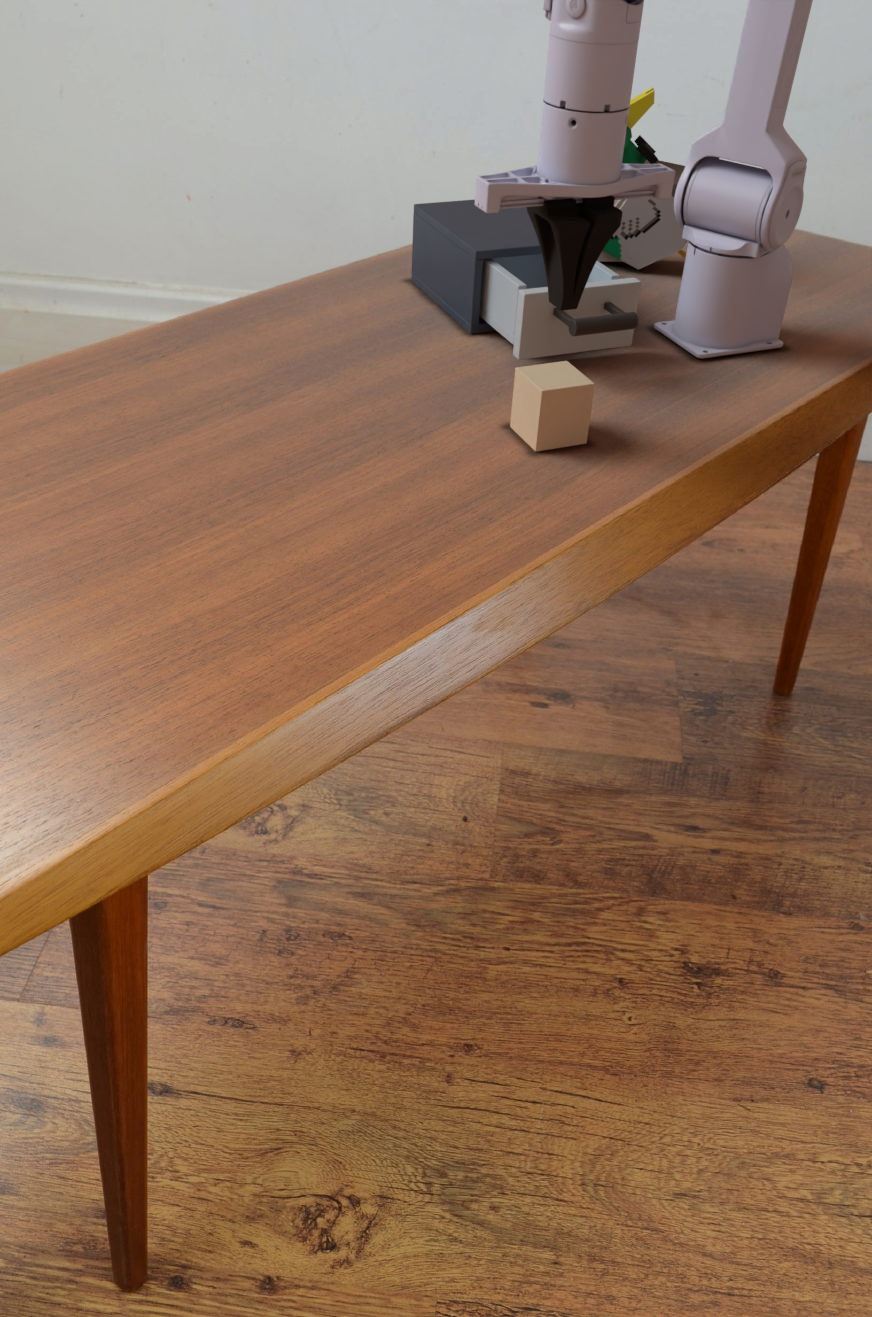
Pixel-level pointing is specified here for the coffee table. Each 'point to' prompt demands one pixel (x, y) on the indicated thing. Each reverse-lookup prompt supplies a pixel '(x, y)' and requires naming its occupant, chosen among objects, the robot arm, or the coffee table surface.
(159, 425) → the coffee table surface
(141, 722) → the coffee table surface
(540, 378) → the block
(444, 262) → the cabinet
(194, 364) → the coffee table surface
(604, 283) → the drawer
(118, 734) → the coffee table surface
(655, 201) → the toy
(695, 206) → the robot arm
